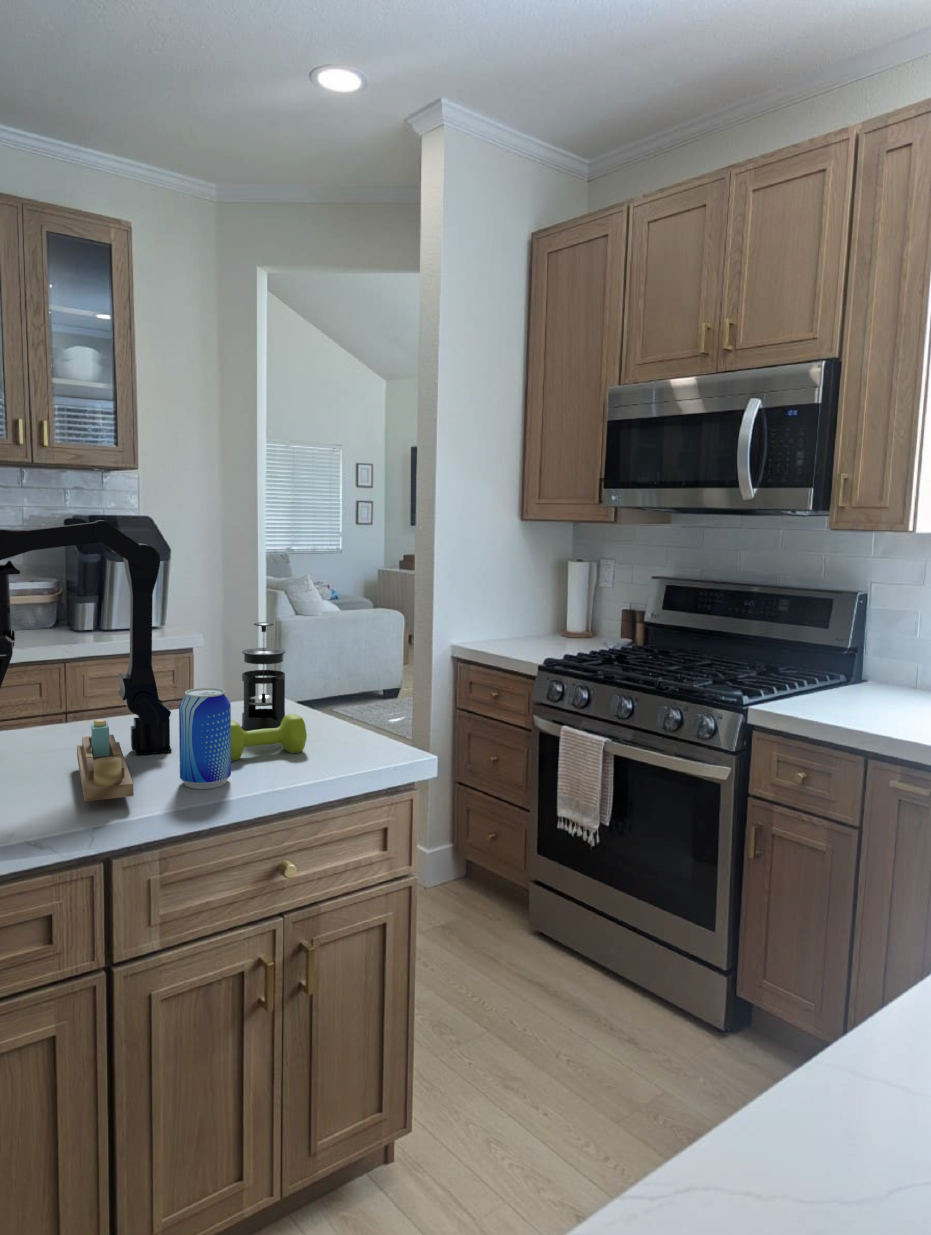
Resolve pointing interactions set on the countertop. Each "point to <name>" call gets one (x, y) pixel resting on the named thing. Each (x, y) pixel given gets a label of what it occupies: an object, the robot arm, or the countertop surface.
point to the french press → (263, 717)
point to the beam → (103, 772)
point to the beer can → (205, 738)
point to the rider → (100, 738)
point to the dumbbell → (270, 736)
